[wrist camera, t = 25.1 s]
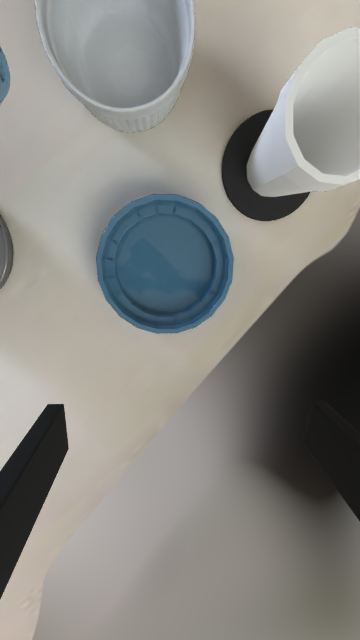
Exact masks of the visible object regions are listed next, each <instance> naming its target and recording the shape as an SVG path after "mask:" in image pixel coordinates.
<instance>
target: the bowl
mask: <svg viewBox="0 0 360 640" xmlns="http://www.w3.org/2000/svg"><path fill="white" fill-rule="evenodd" d="M233 260H234V259H233V254H232V250H231V246H230V242H229V238H228V236H227V234H226V232H225V231H224V229H223V227H222V226H221V224H220V223H219V221H218V219H217V218H216V217H215V216H214V215H213V214H212V213H210V212H209V211H208V210H207V209H206V208H204V207H203V206H202V205H201V204H200V203H198V202H195V201H193V200H190V199H187V198H185V197H182V196H179V195H169V194H153V195H150V196H147V197H144V198H141V199H138V200H135V201H132V202H131V203H129V204H128V205H127V206H126V207H124V208H123V209H122V210H121V211H119V212H118V213H117V214H116V215H114V216H113V218H112V219H111V221H110V223H109V224H108V226H107V227H106V229H105V231H104V232H103V234H102V236H101V239H100V244H99V248H98V252H97V256H96V263H97V274H98V281H99V284H100V286H101V288H102V291H103V293H104V296H105V298H106V300H107V302H108V303H109V304H110V305H111V306H112V308H113V309H114V310H115V311H116V312H117V314H118V315H119V316H120V317H122V318H123V319H125V320H126V321H128V322H129V323H131V324H132V325H134V326H135V327H137V328H140V329H143V330H146V331H150V332H153V333H179V332H182V331H185V330H188V329H191V328H194V327H196V326H198V325H199V324H201V323H202V322H204V321H205V320H206V319H208V318H209V317H211V316H212V315H213V314H214V313H215V311H216V310H217V309H218V307H219V306H220V305H221V304H222V302H223V301H224V299H225V297H226V295H227V292H228V290H229V287H230V284H231V282H232V276H233Z"/></svg>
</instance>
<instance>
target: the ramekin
mask: <svg viewBox="0 0 360 640" xmlns="http://www.w3.org/2000/svg"><path fill="white" fill-rule="evenodd" d="M35 9H36V17H37V24H38V28H39V33H40V36H41V40H42V43H43V45H44V48H45V51H46V53H47V55H48V57H49V59H50V61H51V63H52V65H53V67H54V68H55V70H56V72H57V74H58V75H59V77H60V79H61V80H62V82H63V83H64V84H65V86H66V87H67V88H68V89H69V91H70V92H71V93H72V94H73V95H74V96H75V97H76V98H77V99H78V100H79V101H81V102H82V103H83V104H84V106H85V107H86V108H87V109H88V110H89V111H90V112H91V113H92V114H93V115H94V116H95V117H96V118H97V119H98V120H99V121H101V122H103V123H105V125H107V126H109V127H112V128H113V129H116V130H119V131H124V132H133V133H134V132H141V131H145V130H148V129H150V128H153V127H154V126H155V125H157V124H159V123H160V122H161V121H162V120H163V119H164V118H165V117H166V116H167V115H168V114H169V113H170V110H171V109H172V108H173V107H174V105H175V102H176V101H177V99H178V96H179V93H180V91H181V88H182V85H183V82H184V80H185V78H186V76H187V73H188V71H189V68H190V64H191V61H192V56H193V51H194V42H195V28H196V19H195V6H194V0H35Z"/></svg>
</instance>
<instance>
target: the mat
mask: <svg viewBox="0 0 360 640" xmlns="http://www.w3.org/2000/svg"><path fill="white" fill-rule="evenodd" d="M272 112H273V110H267V111H263V112H260V113H257V114H255V115H253V116H251V117H250V118H248V119H247V120H246V121H244V122H243V123H242V124H241V125H240V126H239V127H238V129H237V130H236V131H235V132H234V134H233V135H232V137H231V139H230V141H229V143H228V145H227V147H226V150H225V153H224V157H223V163H222V178H223V184H224V188H225V191H226V194H227V196H228V198H229V200H230V201H231V202H232V204H233V205H234V206H235V207H236V209H237V210H239V211H240V212H241V213H242V214H244V215H245V216H247V217H249V218H252V219H255V220H260V221H271V220H277V219H280V218H283V217H285V216H287V215H289V214H290V213H292V212H294V211H295V210H296V209H297V208H298V207H299V206H300V205H301V204H302V203H303V202H304V201H305V200H306V198H307V197H308V195H309V193H310V192H304V193H298V194H291V195H284V196H278V197H266V196H261V195H260V194H258V193H257V192H255V191H254V190H253V189H252V187H251V185H250V183H249V182H248V180H247V168H246V166H247V163H248V160H249V157H250V154H251V152H252V150H253V148H254V146H255V144H256V142H257V140H258V138H259V136H260V135H261V133H262V131H263V129H264V127H265V125H266V123H267V121H268V119H269V117H270V116H271V114H272Z"/></svg>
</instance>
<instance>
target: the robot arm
mask: <svg viewBox="0 0 360 640" xmlns="http://www.w3.org/2000/svg"><path fill="white" fill-rule="evenodd" d="M9 87H10V72H9V68H8V64H7V61H6V58H5V55H4V53H3V51H2V49H1V47H0V104H1V103H2V101H3V100H4V98H5V97H6V95H7V93H8V91H9ZM12 263H13V246H12V241H11V237H10V234H9V231H8V228H7V226H6V224H5V222H4V220H3V218H2V217H1V215H0V289H1V288H2V286H3V285H4V284H5V282H6V281H7V279H8V277H9V274H10V272H11V268H12ZM302 442H303V444H304V445H305V446H306V448H307V449H308V451H309V452H310V453H311V455H312V456H313V457H314V459H315V460H316V462H317V463H318V464H319V466H320V467H321V468H322V470H323V471H324V473H325V474H326V475H327V477H328V478H329V479H330V481H331V482H332V484H333V485H334V486H335V488H336V489H337V490H338V492H339V493H340V495H341V496H342V497H343V499H344V500H345V501H346V503H347V504H348V506H349V507H350V508H351V510H352V511H353V513H354V514H355V515H356V516H357V518H358V519H359V521H360V434H359V433H358V432H357V431H356V430H355V429H354V428H353V427H352V426H351V425H350V424H349V423H348V422H347V421H345V420H344V419H343V418H342V417H341V416H340V415H339V414H338V413H337V412H336V411H335V410H334V409H333V408H332V407H331V406H330V405H328V404H327V403H326V402H325V401H312V402H311V405H310V410H309V414H308V419H307V423H306V428H305V432H304V437H303V441H302ZM68 449H69V448H68V439H67V430H66V421H65V412H64V404H48V405H47V406H46V408H45V409H44V410H43V412H42V413H41V415H40V416H39V418H38V419H37V420H36V422H35V423H34V425H33V426H32V427H31V429H30V430H29V432H28V433H27V434H26V436H25V437H24V439H23V440H22V441H21V443H20V444H19V446H18V447H17V448H16V450H15V451H14V453H13V454H12V456H11V457H10V458H9V460H8V461H7V463H6V464H5V465H4V467H3V468H2V470H1V471H0V599H1V597H2V594H3V592H4V590H5V588H6V586H7V583H8V581H9V579H10V577H11V575H12V572H13V570H14V568H15V566H16V563H17V561H18V559H19V557H20V555H21V552H22V550H23V548H24V546H25V544H26V541H27V539H28V537H29V535H30V533H31V530H32V528H33V526H34V524H35V522H36V519H37V517H38V515H39V513H40V510H41V508H42V506H43V504H44V502H45V499H46V497H47V495H48V493H49V491H50V488H51V486H52V484H53V482H54V480H55V477H56V475H57V473H58V471H59V468H60V466H61V464H62V462H63V460H64V457H65V455H66V453H67V451H68Z"/></svg>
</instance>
